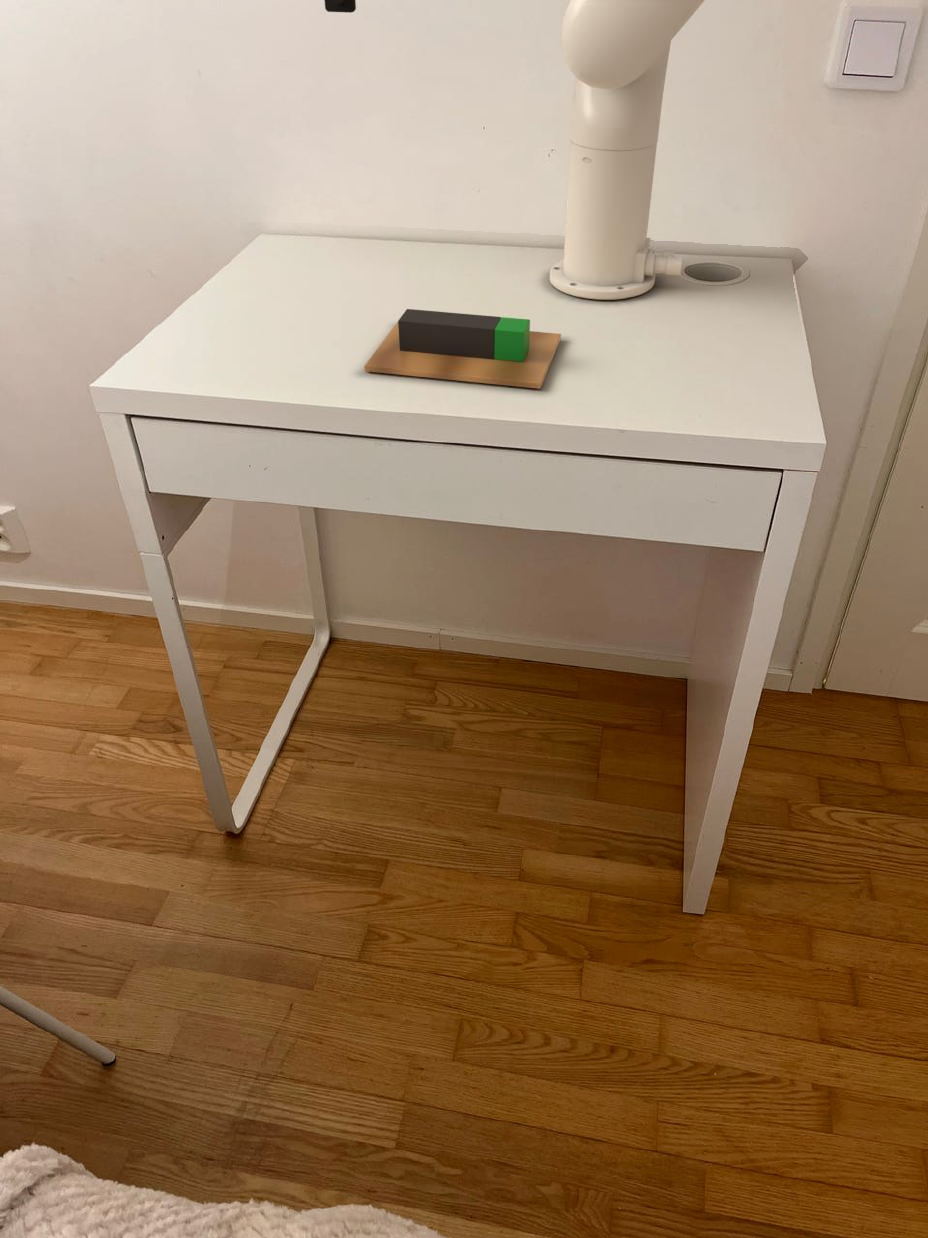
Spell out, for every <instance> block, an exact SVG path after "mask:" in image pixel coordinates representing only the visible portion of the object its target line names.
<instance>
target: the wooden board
mask: <svg viewBox="0 0 928 1238" xmlns="http://www.w3.org/2000/svg"><path fill="white" fill-rule="evenodd" d="M561 339H562V333H556V332H545V331H531V330H530V337H529V350H528V352H527V355H526V357H525V359H524V361H523V362H517V361H506V360H496V359H483V358H473V357H462V356H452V355H441V354H431V353H420V352H410V351H400V345H399V328H398V321H397V322H396V323H395V324H394V325H393V327H392V328H391V330H390V331H389V333H388V334H387V336H385V338H384V339H383V340H382V342H381V343H380V344H379V346H378V347H377V348H376V350H375V351H374V353H373V354H372V355H371V357H370V358H369V359H368V360H367V362H366V363H365V365H364V371H365V372H369V373H370V372H371V373H380V374H391V375H401V376H408V377H409V376H410V377H411V376H412V377H420V378H430V379H431V378H432V379H439V380H440V379H441V380H449V381H451V380H452V381H460V382H469V383H479V384H480V383H482V384H489V385H500V386H511V387H519V388H530V389H539V390H540V389H541V388H542V386H543V383H544V381H545V378H546V377H547V374H548V372H549V370H550V369H549V368H550V366H551V363H552V361H553V359H554V356H555V354H556V352H557V349H558V346H559V344H560V341H561Z"/></svg>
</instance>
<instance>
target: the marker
mask: <svg viewBox="0 0 928 1238" xmlns="http://www.w3.org/2000/svg"><path fill="white" fill-rule="evenodd" d="M397 322H398V328H399V345H400V351H410V352H420V353H431V354H441V355H452V356H462V357H473V358H483V359H496V360H506V361H517V362H523V361H524V359H525V357H526V355H527V352H528V350H529V337H530V331H531V320H530V319H526V318H518V317H517V318H515V317H503V316H496V315H495V316H493V315H483V314H471V313H459V312H448V311H447V312H446V311H437V310H436V311H435V310H424V309H411V308H406V310H404V312H403V314H402V315H401V317H399V318H398V320H397Z"/></svg>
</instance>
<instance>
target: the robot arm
mask: <svg viewBox="0 0 928 1238" xmlns="http://www.w3.org/2000/svg"><path fill="white" fill-rule="evenodd" d="M705 1H706V0H570V1H569V3H568V4H567V7H566V9H565V13H564V15H563V18H562V24H561V31H560V41H561V42H560V43H561V50H562V55H563V56H564V60H565V63H566V65H567V66H568V67H567V68H569V70H570V72H571V73H572V74H573V76H574V77H575V78H574V87H573V96H572V97H573V99H572V108H571V120H570V121H571V122H570V139H569V155H568V171H567V172H568V173H567V192H566V207H565V208H566V209H565V225H564V227H565V228H564V245H563V259H561V260H559V261H556V262H555V263H554V264H553V265H552V266H551V267H550V270H549V282H550V284H551V285H552V287H554V288H555V289H557V290H558V291H559V292H562V293H564V294H567V295H569V296H573V297H578V298H583V299H590V300H600V301H603V300H605V301H610V300H613V301H614V300H625V299H628V298H634V297H637V296H640V295H643V294H645V293H647V292H648V291H650V290H651V289H652V288H653V287H654V286H655V283H656V274H665V275H669V276H682V270H683V264H684V263H683V262H684V257H675V252H671V251H655V248H651V237H648V227H649V220H650V219H649V218H650V211H651V201H652V191H653V183H654V175H655V174H654V173H655V167H656V166H655V164H656V156H657V145H658V141H659V132H660V123H661V113H662V107H663V97H664V90H665V84H666V83H665V82H666V76H667V69H668V63H669V56H670V51H671V45H672V44H671V43H672V40H673V39H674V38H675V37H676V35H677V34H678V33H679V32H680V31H681V30H682V28H683V27H684V26H685V24H686V23H687V22H688V21H689V20H690V19H691V18H692V16H693V15H694V14H695V13H696V11H698V9H699V8H700V7H701V5H702V4H703V3H704V2H705ZM324 9H325V11H326V12H328V13H350V14H351V13H354V12H355V11H356V9H357V3H356V0H324Z"/></svg>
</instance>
